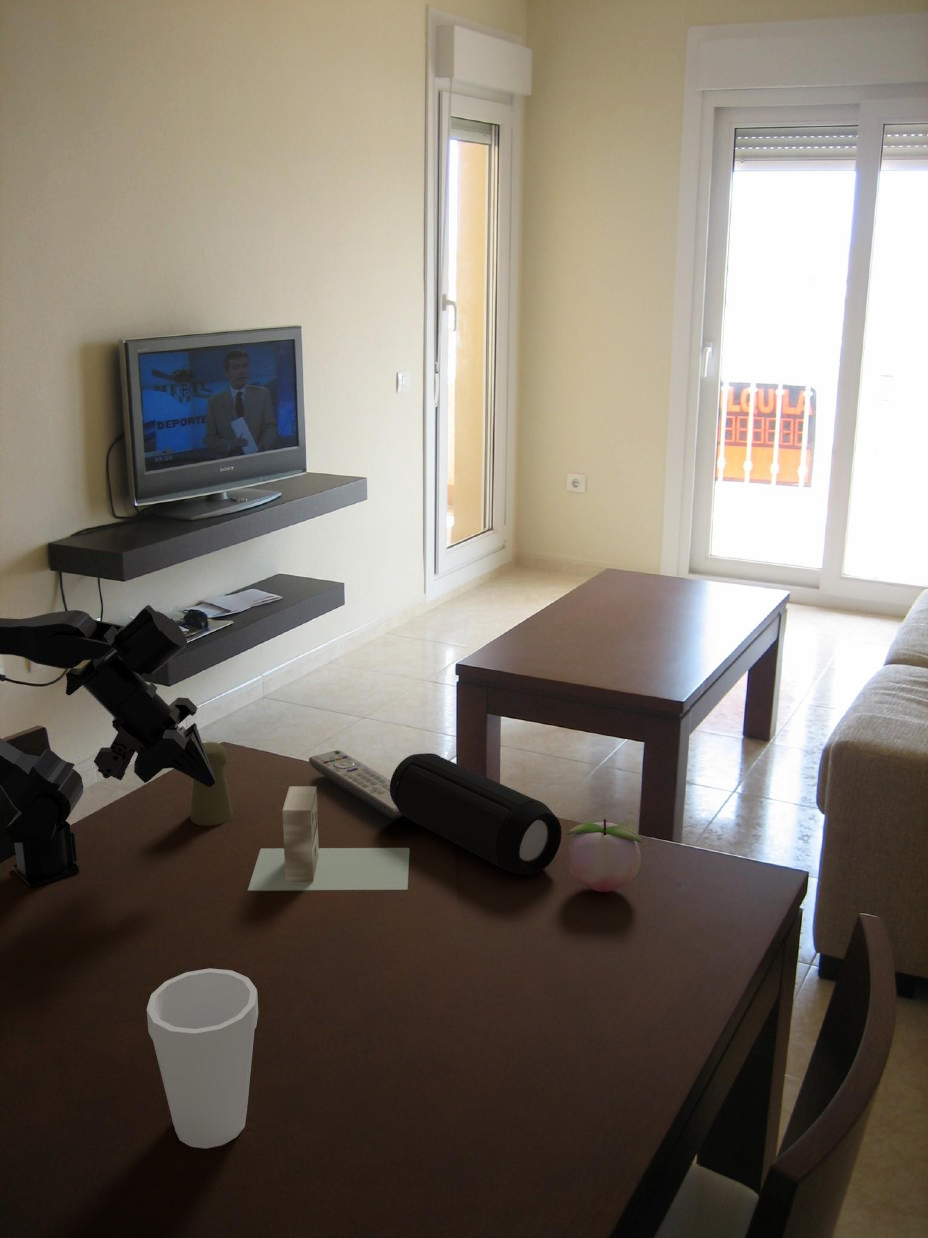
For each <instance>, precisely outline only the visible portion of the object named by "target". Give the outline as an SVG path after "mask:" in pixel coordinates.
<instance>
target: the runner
mask: <svg viewBox="0 0 928 1238" xmlns="http://www.w3.org/2000/svg"><path fill="white" fill-rule="evenodd" d="M318 848H319V847H318ZM410 849H411V848H410V847H351V848H350V847H347V848H346V847H343V848H342V847H337V848H336V847H331V848H330V847H329V848H327V847H323V848H321V847H320V848H319V857H318V861H317V866H316V871H315V876H314V881H313V882H286V881H285V857H284V847H283V848H267V847H266V848H260V849H259V852H258V856H257V859H256V862H255V866H254V868H253V873H252V875H251V878H250V882H249V886H248V888H247V891H248V892H249V891H251V892H252V891H255V892H256V891H258V892H259V891H261V892H262V891H263V892H264V891H269V892H270V891H272V892H273V891H408V890H409V888H408V886H409V866H410V865H409V864H410Z"/></svg>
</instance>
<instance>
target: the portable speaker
mask: <svg viewBox="0 0 928 1238" xmlns="http://www.w3.org/2000/svg"><path fill="white" fill-rule="evenodd" d="M389 794H390V799H391V800H392V802H393V804H394V806H395V807H396V808H397V810H398V812H399V813H400V814H401V815H402V816H403V817H404V818H405V819H408V820H410V821H411V822H413V823H415V824H417V825H419V826H421V827H423V828H425V829H426V830H428V831H431V832H432V833H434V834H436V835H438V836H440V837H441V838H443V839H446V840H447V841H449V842H451V843H453V844H455V845H457V846H458V847H461V848H463V849H465V850H466V851H468V852H470V853H472V854H474V855H476V856H478V857H479V858H482V859H483V860H486V861H488V862H489V863H491V864H493V865H495V866H497V867H499V868H501V869H503V870H505V871H506V872H508V873H510V874H513V875H534V874H535V875H536V874H538V873H540V872H542V871H544V870H545V869H546V868H547V867H549V865H550V864H551V863H552V862H553V861H554V858H555V857H556V855H557V853H558V851H559V849H560V845H561V841H562V826H561V822H560V820H559V818H558V817H557V816H556V814H554V812H553V811H552V810H551V809H550V808H549V806H548V805H547V804H546V803H544V802H543V801H540V800H538V799H535V798H533V797H530V796H528V795H526V794H523V793H521V792H519V791H517V790H515V789H513V788H511V787H508V786H506V785H504V784H502V783H500V782H497V781H495V780H492V779H490V778H489V777H486V776H484V775H482V774H481V773H477V772H475V771H473V770H470V769H469V768H466V767H464V766H462V765H460V764H458V763H456V762H454V761H453V762H452V761H451V760H448V759H447V758H444V757H442V756H440V755H438V754H436V753H433V752H432V753H429V752H428V753H414V754H411V755H409V756H407V757H405V758H404V759H403V760H402V761H400V762H399V763H398V765H397V767H396V768H395V769H394V771H393V773H392V776H391V779H390V782H389Z"/></svg>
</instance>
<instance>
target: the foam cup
mask: <svg viewBox="0 0 928 1238" xmlns="http://www.w3.org/2000/svg"><path fill="white" fill-rule="evenodd" d="M258 1004H259V1001H258V989H257V988H256V986H255V984H253V982H252V981H251V979H250V978H249V977H247V976H245V975H243V974H241V973H238V972H236V971H234V970H232V969H231V970H230V969H219V968H205V969H197V970H193V971H185V972H184V973H182V974H179V975H176V976H175V977H172V978H169V979H168V980H165V981H164V982H163V983H162V984H161V985H160V986H159V987H158V988H156V989H155V990H154V991H153V992H151V994H150V998H149V1000H148V1004H147V1006H146V1016H147V1030H148V1034H149V1036H150V1038H151V1040H152V1042H153V1045H154V1051H155V1054H156V1059H157V1062H158V1067H159V1071H160V1075H161V1079H162V1083H163V1087H164V1091H165V1095H166V1101H167V1103H168V1108H169V1112H170V1115H171V1120H172V1124H173V1127H174V1131H175V1133H176V1135H177V1137H178V1140H179V1141H180V1142H182V1143H184V1144H186V1145H187V1146H189V1147H191V1148H199V1149H210V1148H216V1147H220V1146H223V1145H226V1144H227V1143H229V1142H230V1141H232V1140H234V1139H235V1138H237V1137H238V1136H239V1135H240V1134H241V1132H242V1131H243V1130H244V1129H245V1127H246V1121H247V1120H246V1119H247V1113H248V1112H247V1111H248V1102H249V1093H250V1082H251V1081H250V1079H251V1072H252V1071H251V1070H252V1062H253V1061H252V1059H253V1050H254V1049H253V1048H254V1039H255V1029H257V1023H258V1019H259V1018H258V1017H259V1005H258Z"/></svg>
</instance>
